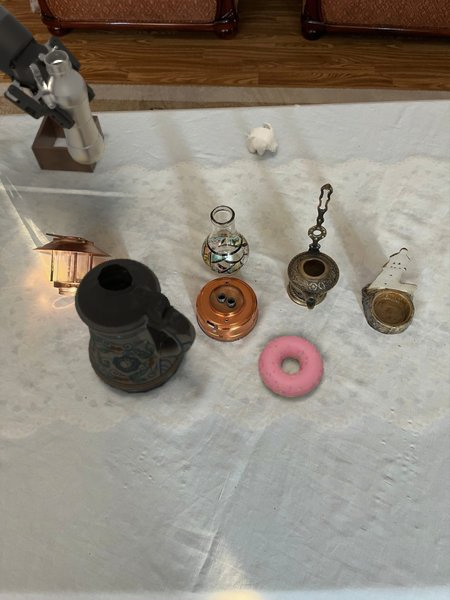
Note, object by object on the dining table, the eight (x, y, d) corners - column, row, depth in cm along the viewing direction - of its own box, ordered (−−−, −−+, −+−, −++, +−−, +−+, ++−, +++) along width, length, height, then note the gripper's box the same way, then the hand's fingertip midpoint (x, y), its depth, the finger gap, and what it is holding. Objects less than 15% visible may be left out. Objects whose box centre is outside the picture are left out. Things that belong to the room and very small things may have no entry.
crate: (43, 175, 115) (30, 147, 108) (56, 141, 120) (45, 112, 113) (94, 178, 114) (85, 150, 107) (105, 143, 119) (97, 115, 112)
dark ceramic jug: (98, 312, 97) (57, 227, 75) (203, 309, 97) (192, 224, 75) (87, 397, 89) (38, 330, 67) (202, 395, 88) (189, 327, 67)
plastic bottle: (105, 139, 97) (75, 40, 80) (108, 166, 94) (79, 68, 77) (70, 145, 97) (33, 47, 80) (72, 172, 94) (35, 75, 76)
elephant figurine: (271, 166, 114) (272, 145, 109) (237, 155, 116) (237, 134, 111) (282, 145, 117) (284, 124, 112) (250, 135, 119) (250, 114, 114)
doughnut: (254, 344, 93) (254, 333, 89) (315, 338, 93) (318, 327, 89) (261, 403, 87) (262, 394, 84) (327, 397, 87) (331, 388, 84)
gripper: (-28, 47, 72) (71, 133, 80) (26, -11, 79) (113, 74, 87) (-43, 72, 78) (51, 150, 86) (9, 17, 84) (92, 94, 92)
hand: (82, 112), depth 86 cm, fingers closed on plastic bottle, 6 cm apart
